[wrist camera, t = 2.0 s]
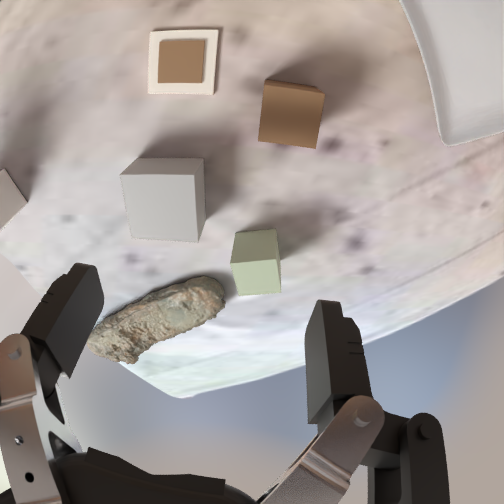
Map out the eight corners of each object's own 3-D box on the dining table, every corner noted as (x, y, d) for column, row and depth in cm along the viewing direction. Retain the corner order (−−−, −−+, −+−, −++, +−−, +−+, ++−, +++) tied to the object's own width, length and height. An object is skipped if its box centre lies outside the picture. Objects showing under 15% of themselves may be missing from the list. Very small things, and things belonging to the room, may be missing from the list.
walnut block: (265, 79, 27) (264, 85, 22) (314, 86, 27) (325, 94, 22) (260, 125, 30) (257, 141, 25) (307, 131, 30) (315, 148, 25)
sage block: (235, 232, 38) (230, 263, 33) (275, 228, 37) (276, 259, 32) (242, 263, 41) (238, 295, 36) (280, 260, 40) (281, 292, 35)
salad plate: (369, -33, 18) (380, -41, 15) (504, -31, 11) (520, -33, 9) (429, 141, 29) (443, 151, 26) (540, 114, 23) (555, 121, 20)
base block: (137, 157, 32) (119, 174, 28) (204, 157, 32) (194, 174, 28) (145, 216, 37) (131, 238, 33) (206, 219, 37) (198, 242, 33)
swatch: (151, 32, 23) (149, 31, 23) (218, 30, 23) (217, 29, 23) (149, 93, 28) (146, 94, 27) (213, 94, 28) (212, 95, 27)
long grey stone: (243, 297, 47) (201, 251, 43) (240, 321, 42) (194, 274, 38) (114, 358, 59) (80, 329, 55) (107, 376, 54) (70, 348, 50)
